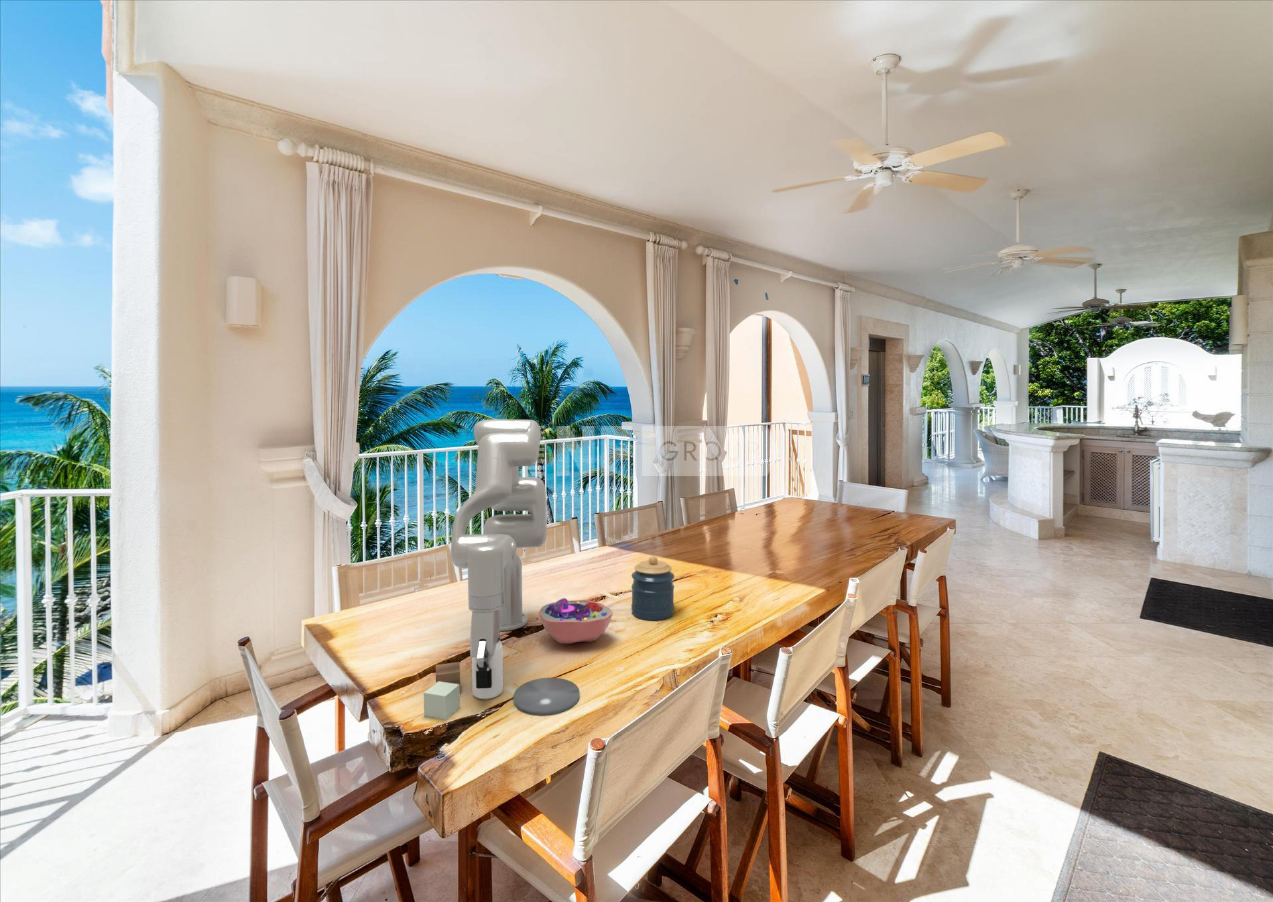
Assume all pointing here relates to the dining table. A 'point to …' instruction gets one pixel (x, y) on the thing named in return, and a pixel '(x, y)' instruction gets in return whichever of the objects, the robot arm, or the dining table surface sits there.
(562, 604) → the cell model
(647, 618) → the canister
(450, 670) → the walnut block
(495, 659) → the can
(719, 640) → the dining table surface
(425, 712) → the sage block
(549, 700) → the trivet
